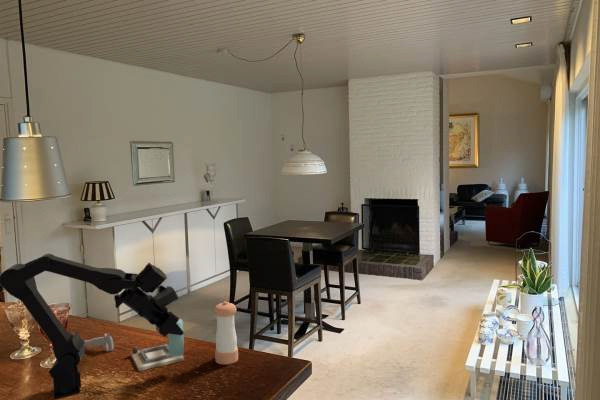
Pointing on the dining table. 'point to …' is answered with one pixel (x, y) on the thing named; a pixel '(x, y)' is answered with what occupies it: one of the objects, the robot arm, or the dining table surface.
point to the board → (153, 357)
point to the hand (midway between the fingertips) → (180, 331)
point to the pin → (176, 342)
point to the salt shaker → (226, 334)
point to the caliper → (102, 342)
